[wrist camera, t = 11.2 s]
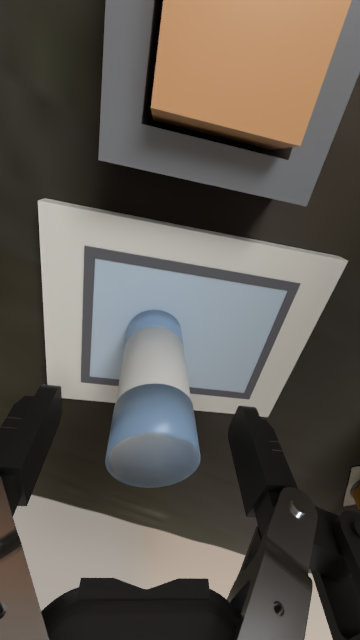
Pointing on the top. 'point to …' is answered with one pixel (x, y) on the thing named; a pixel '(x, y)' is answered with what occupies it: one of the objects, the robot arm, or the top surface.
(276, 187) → the button housing
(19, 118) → the top surface
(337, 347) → the top surface
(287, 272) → the board
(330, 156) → the top surface
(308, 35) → the button
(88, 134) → the top surface
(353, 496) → the condiment
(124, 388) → the marker
